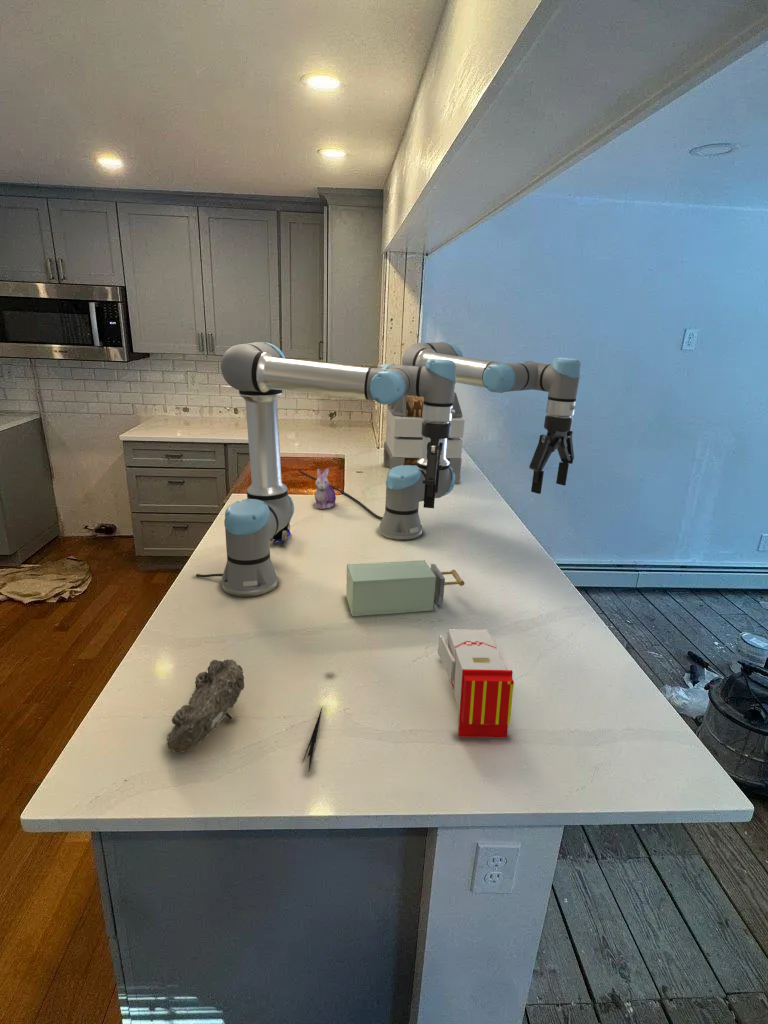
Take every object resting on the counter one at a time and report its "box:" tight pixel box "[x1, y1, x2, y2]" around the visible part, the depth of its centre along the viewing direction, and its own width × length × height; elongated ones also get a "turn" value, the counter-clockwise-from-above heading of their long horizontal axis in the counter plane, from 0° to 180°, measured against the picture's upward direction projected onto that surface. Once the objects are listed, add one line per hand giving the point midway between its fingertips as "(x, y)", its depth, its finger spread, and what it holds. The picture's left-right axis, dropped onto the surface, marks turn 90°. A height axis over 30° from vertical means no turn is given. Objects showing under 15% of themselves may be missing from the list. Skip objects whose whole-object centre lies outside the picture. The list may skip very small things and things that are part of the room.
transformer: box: [383, 391, 465, 484], centre depth 268 cm, size 34×33×41 cm
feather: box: [301, 673, 332, 771], centre depth 108 cm, size 2×28×2 cm
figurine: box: [314, 467, 337, 510], centre depth 222 cm, size 9×10×15 cm
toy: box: [437, 628, 515, 738], centre depth 117 cm, size 12×13×30 cm
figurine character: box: [270, 520, 292, 546], centre depth 189 cm, size 7×8×15 cm
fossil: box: [166, 658, 245, 754], centre depth 106 cm, size 22×10×15 cm
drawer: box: [430, 563, 465, 606], centre depth 152 cm, size 26×9×8 cm, turn 102°
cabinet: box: [345, 559, 436, 617], centre depth 151 cm, size 22×10×10 cm, turn 102°
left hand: (430, 499), depth 153 cm, fingers open, 13 cm apart
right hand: (548, 488), depth 165 cm, fingers open, 13 cm apart
